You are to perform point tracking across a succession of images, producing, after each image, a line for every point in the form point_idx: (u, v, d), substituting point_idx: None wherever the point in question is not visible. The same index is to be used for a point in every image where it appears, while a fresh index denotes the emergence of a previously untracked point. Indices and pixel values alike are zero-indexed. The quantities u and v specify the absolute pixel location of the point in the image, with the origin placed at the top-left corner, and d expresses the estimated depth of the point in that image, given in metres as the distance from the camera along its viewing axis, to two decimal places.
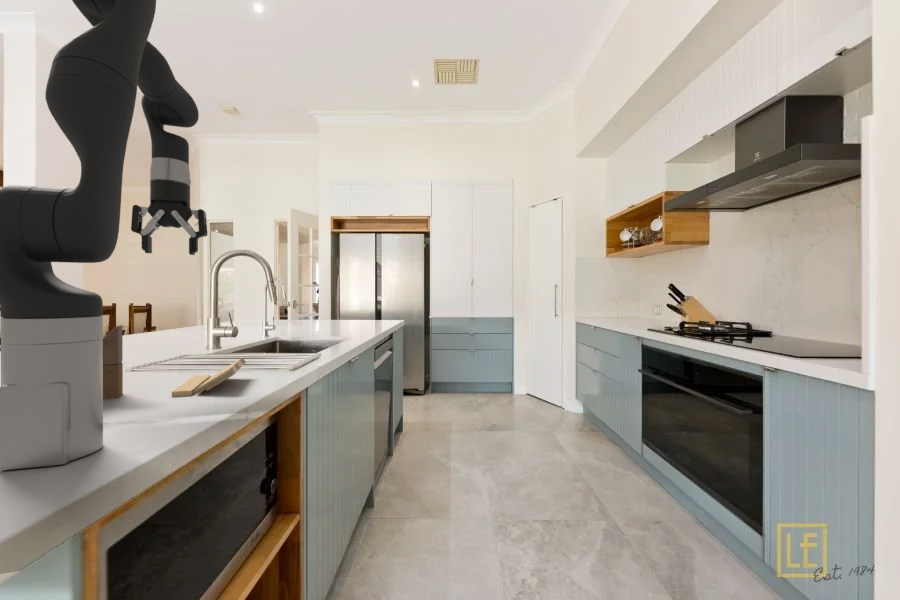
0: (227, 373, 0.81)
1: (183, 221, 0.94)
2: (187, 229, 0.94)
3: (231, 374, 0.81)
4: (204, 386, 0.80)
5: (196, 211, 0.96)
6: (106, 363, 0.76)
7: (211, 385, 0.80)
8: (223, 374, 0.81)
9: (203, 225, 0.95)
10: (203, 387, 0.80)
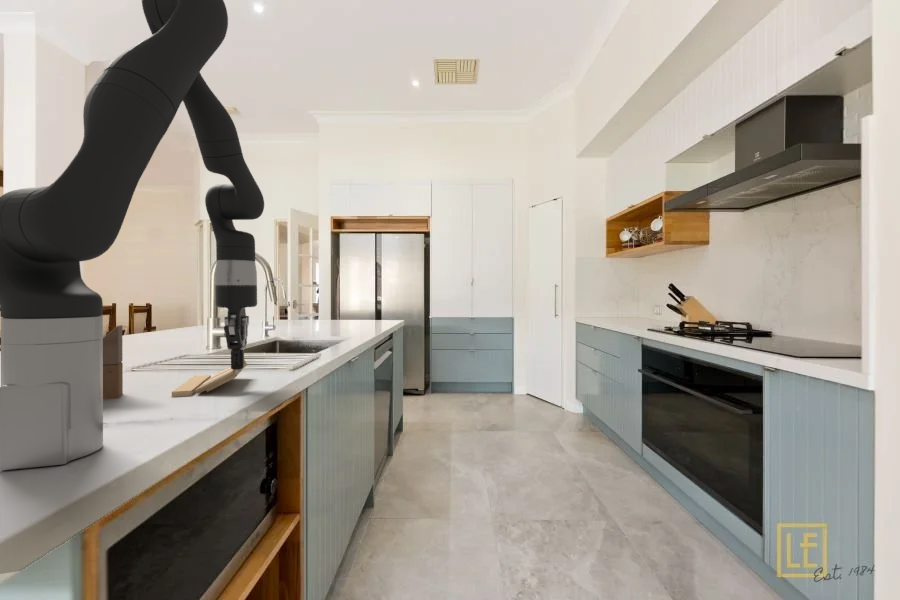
0: (229, 375, 0.81)
1: (247, 330, 0.86)
2: (244, 338, 0.86)
3: (233, 377, 0.81)
4: (205, 387, 0.80)
5: None
6: (106, 363, 0.76)
7: (212, 386, 0.80)
8: (225, 376, 0.81)
9: None
10: (204, 388, 0.80)
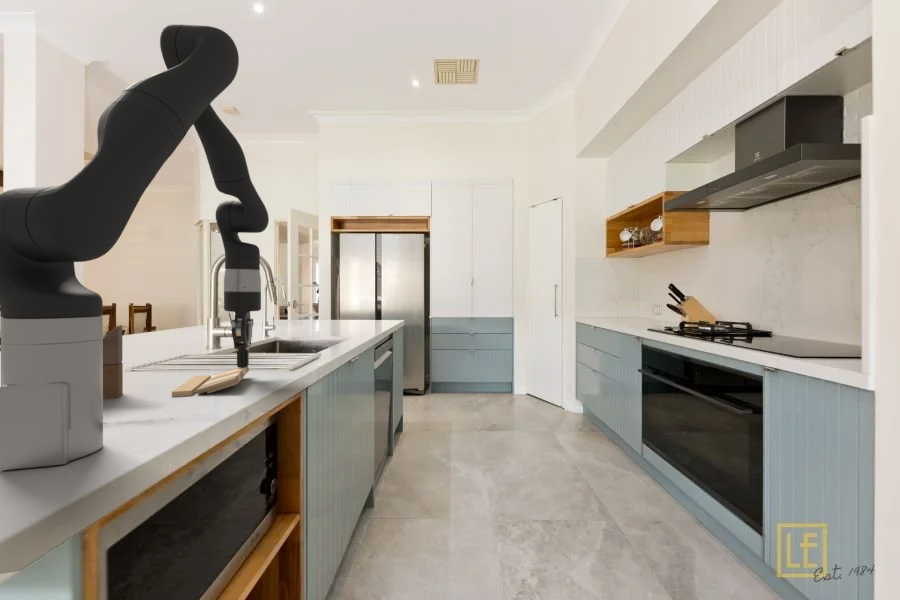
0: (232, 381, 0.81)
1: (251, 331, 0.96)
2: (249, 339, 0.95)
3: (235, 383, 0.81)
4: (206, 388, 0.80)
5: None
6: (106, 363, 0.76)
7: (213, 389, 0.80)
8: (228, 381, 0.81)
9: None
10: (205, 389, 0.80)
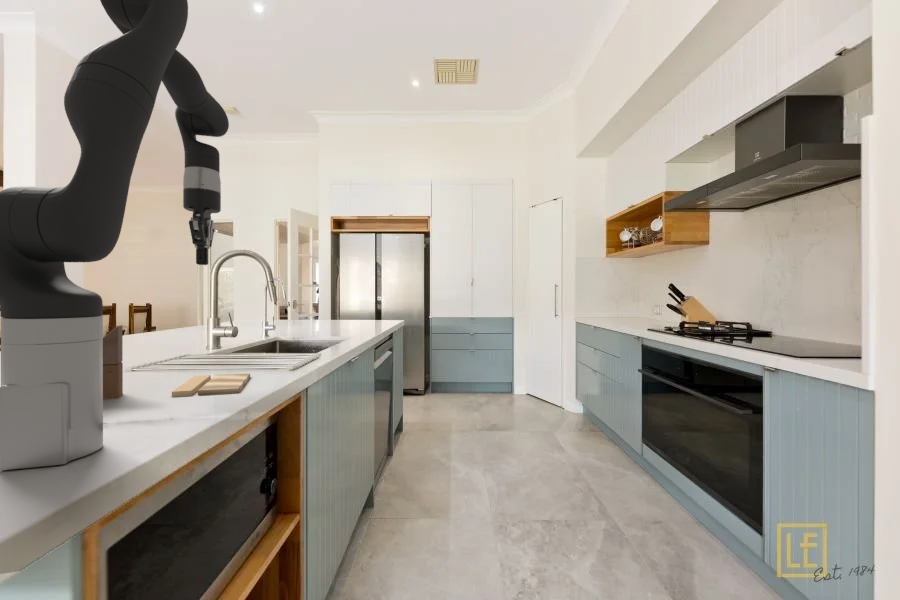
0: (234, 390, 0.81)
1: (211, 233, 0.99)
2: (209, 239, 0.98)
3: None
4: (208, 391, 0.80)
5: None
6: (106, 363, 0.76)
7: (214, 393, 0.80)
8: (230, 389, 0.81)
9: (211, 241, 1.01)
10: (206, 391, 0.80)
